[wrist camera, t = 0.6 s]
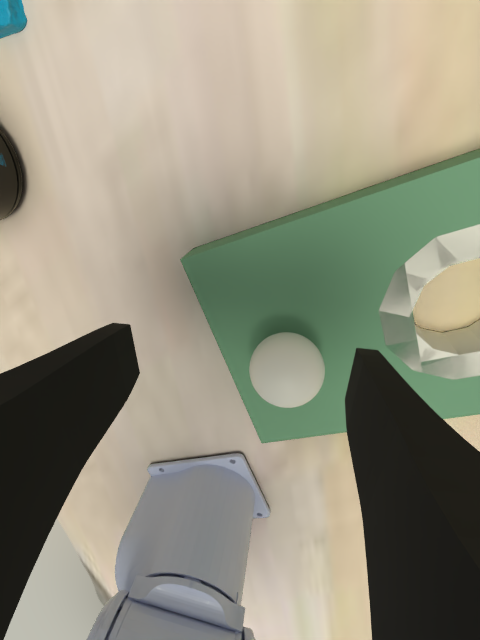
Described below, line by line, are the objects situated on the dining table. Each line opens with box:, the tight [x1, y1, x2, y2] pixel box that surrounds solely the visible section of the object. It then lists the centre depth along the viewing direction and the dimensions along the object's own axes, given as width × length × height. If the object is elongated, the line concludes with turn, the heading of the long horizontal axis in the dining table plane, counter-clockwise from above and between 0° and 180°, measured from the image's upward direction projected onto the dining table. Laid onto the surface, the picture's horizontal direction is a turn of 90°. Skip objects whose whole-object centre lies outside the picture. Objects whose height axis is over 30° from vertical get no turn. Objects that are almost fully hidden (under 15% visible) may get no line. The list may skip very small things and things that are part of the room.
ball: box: [249, 332, 325, 408], centre depth 17 cm, size 4×4×4 cm
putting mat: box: [180, 149, 480, 443], centre depth 19 cm, size 18×14×2 cm
